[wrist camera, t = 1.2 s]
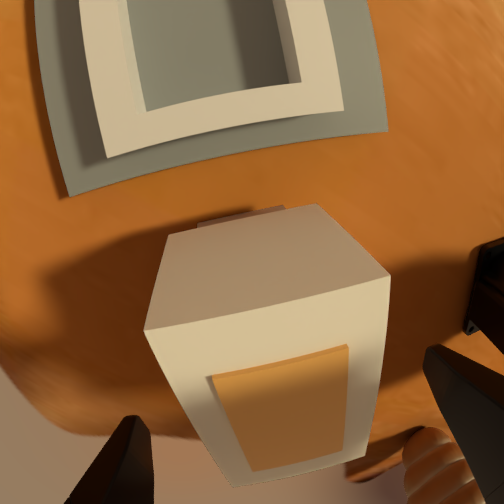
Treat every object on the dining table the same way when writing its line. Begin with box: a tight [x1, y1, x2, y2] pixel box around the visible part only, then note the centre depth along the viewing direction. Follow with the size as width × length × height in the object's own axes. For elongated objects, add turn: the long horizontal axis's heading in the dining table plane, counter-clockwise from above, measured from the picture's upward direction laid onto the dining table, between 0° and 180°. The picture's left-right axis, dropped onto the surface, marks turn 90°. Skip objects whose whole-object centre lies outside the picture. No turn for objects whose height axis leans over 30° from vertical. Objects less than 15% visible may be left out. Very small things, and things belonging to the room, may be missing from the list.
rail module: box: [143, 203, 391, 487], centre depth 11 cm, size 5×8×7 cm, turn 10°
